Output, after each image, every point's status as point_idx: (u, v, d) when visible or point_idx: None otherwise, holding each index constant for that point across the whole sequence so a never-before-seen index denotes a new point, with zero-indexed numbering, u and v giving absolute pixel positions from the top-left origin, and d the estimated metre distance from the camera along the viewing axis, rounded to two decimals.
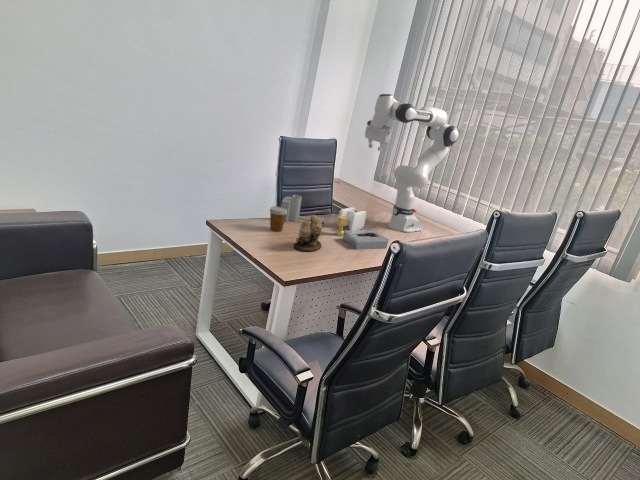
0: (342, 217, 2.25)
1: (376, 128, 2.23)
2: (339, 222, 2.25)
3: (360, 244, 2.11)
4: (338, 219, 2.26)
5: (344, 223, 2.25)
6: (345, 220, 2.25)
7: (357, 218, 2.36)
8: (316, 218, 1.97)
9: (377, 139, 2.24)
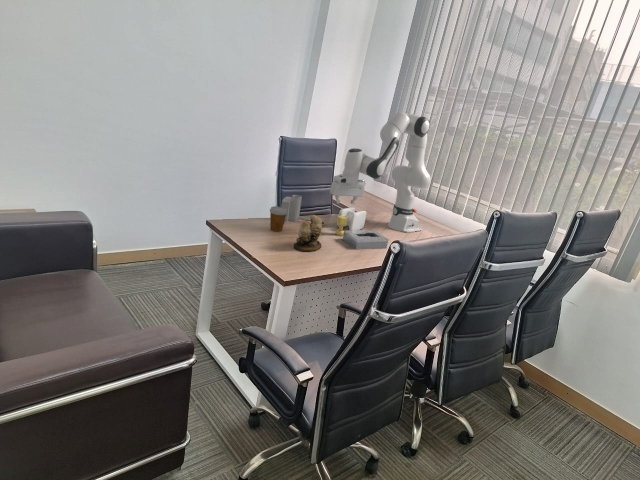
0: (342, 217, 2.25)
1: (353, 184, 2.17)
2: (339, 222, 2.25)
3: (360, 244, 2.11)
4: (338, 219, 2.26)
5: (344, 223, 2.25)
6: (345, 220, 2.25)
7: (357, 218, 2.36)
8: (316, 218, 1.97)
9: (353, 194, 2.21)
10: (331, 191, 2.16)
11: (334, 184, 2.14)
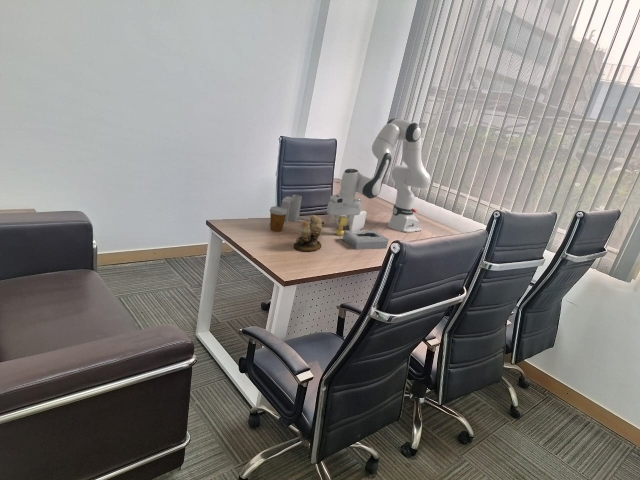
0: (342, 217, 2.25)
1: (350, 204, 2.21)
2: (339, 222, 2.25)
3: (360, 244, 2.11)
4: None
5: (344, 223, 2.25)
6: (345, 220, 2.25)
7: (357, 218, 2.36)
8: (316, 218, 1.97)
9: (350, 213, 2.24)
10: (328, 211, 2.19)
11: (331, 204, 2.18)
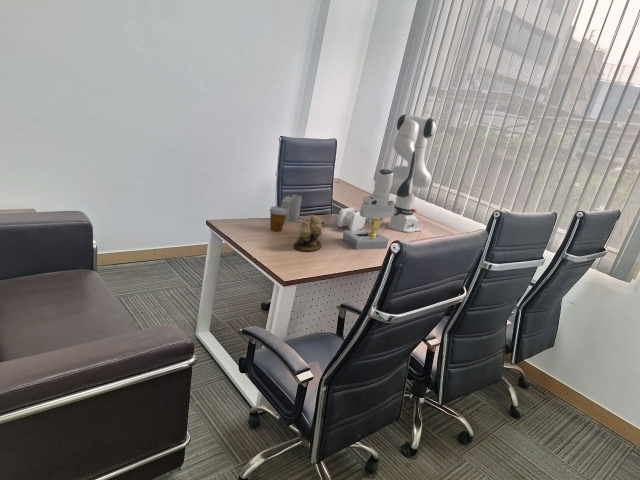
0: (375, 219, 2.18)
1: (384, 206, 2.14)
2: (372, 225, 2.18)
3: (360, 244, 2.11)
4: None
5: (377, 226, 2.18)
6: (378, 222, 2.18)
7: (357, 218, 2.36)
8: (316, 218, 1.97)
9: (383, 215, 2.17)
10: (361, 213, 2.12)
11: (364, 206, 2.11)
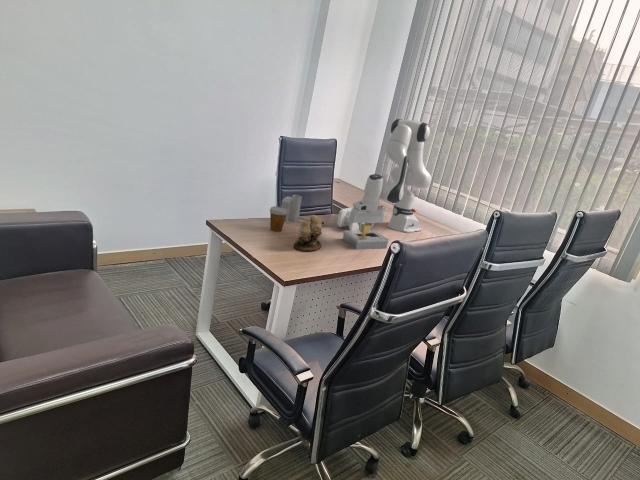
0: (365, 225, 2.16)
1: (374, 211, 2.12)
2: (362, 230, 2.16)
3: (360, 244, 2.11)
4: None
5: (367, 231, 2.16)
6: (368, 228, 2.16)
7: None
8: (316, 218, 1.97)
9: (373, 221, 2.16)
10: (351, 218, 2.11)
11: (354, 211, 2.09)
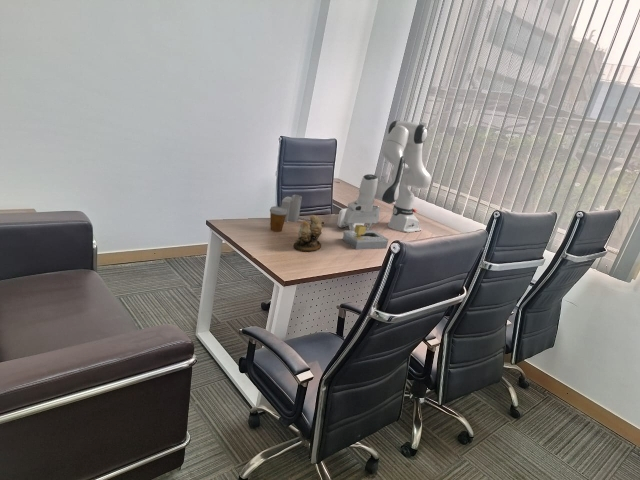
0: (360, 226, 2.15)
1: (368, 211, 2.11)
2: (357, 231, 2.15)
3: (360, 244, 2.11)
4: (355, 228, 2.16)
5: (362, 232, 2.15)
6: (363, 229, 2.15)
7: None
8: (316, 218, 1.97)
9: (368, 221, 2.14)
10: (345, 219, 2.09)
11: (349, 212, 2.08)
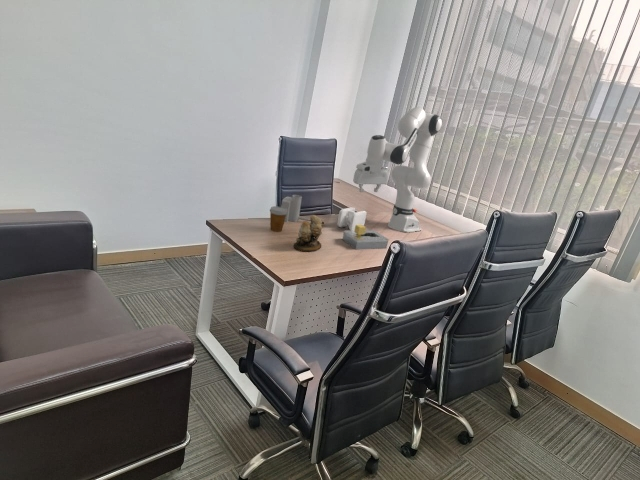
0: (360, 226, 2.15)
1: (377, 172, 2.14)
2: (357, 231, 2.15)
3: (360, 244, 2.11)
4: (355, 228, 2.16)
5: (362, 232, 2.15)
6: (363, 229, 2.15)
7: (357, 218, 2.36)
8: (316, 218, 1.97)
9: (377, 182, 2.17)
10: (355, 180, 2.12)
11: (358, 173, 2.11)
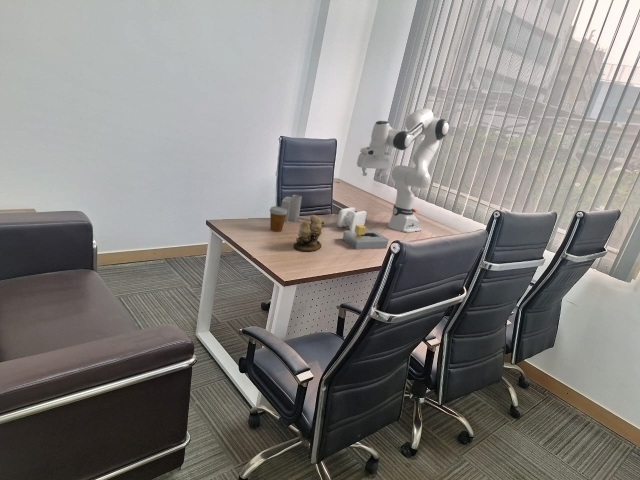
0: (360, 226, 2.15)
1: (380, 156, 2.21)
2: (357, 231, 2.15)
3: (360, 244, 2.11)
4: (355, 228, 2.16)
5: (362, 232, 2.15)
6: (363, 229, 2.15)
7: (357, 218, 2.36)
8: (316, 218, 1.97)
9: (380, 166, 2.24)
10: (358, 163, 2.19)
11: (361, 156, 2.17)
